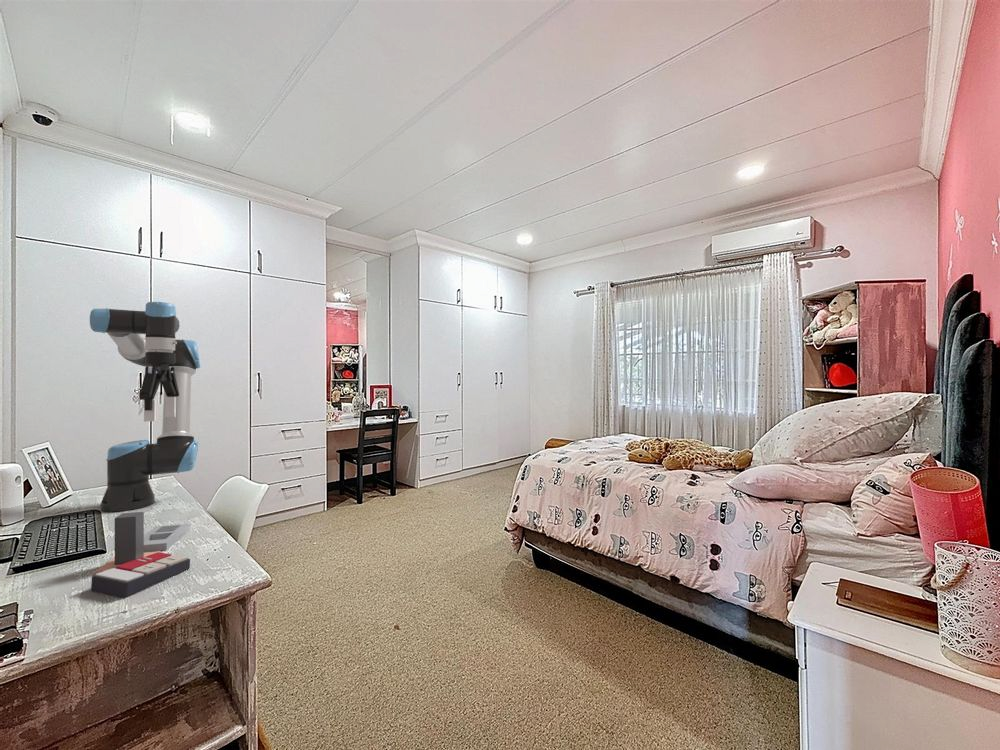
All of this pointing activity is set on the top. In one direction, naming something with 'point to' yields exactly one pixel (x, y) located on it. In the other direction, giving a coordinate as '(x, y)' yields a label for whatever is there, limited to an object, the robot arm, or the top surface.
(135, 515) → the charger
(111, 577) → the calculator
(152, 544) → the grey flat block
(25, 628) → the top surface
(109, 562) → the mat
